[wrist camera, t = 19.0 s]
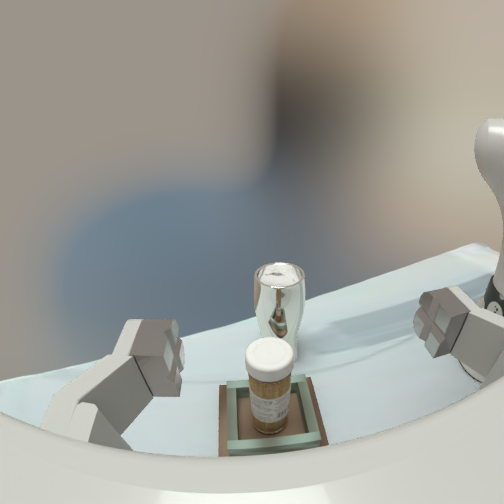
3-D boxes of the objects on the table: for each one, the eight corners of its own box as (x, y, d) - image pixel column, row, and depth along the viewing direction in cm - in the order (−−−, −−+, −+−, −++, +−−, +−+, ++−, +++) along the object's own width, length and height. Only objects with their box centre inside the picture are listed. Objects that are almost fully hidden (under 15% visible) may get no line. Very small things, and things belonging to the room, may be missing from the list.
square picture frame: (309, 381, 37) (312, 366, 36) (329, 457, 25) (335, 446, 24) (220, 389, 37) (217, 374, 35) (219, 468, 25) (215, 459, 23)
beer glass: (275, 334, 47) (275, 257, 41) (309, 351, 43) (316, 271, 36) (248, 356, 43) (241, 276, 36) (282, 377, 38) (284, 295, 32)
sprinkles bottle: (273, 401, 33) (274, 328, 27) (295, 423, 30) (304, 353, 24) (244, 418, 31) (235, 347, 25) (265, 442, 28) (263, 377, 22)
